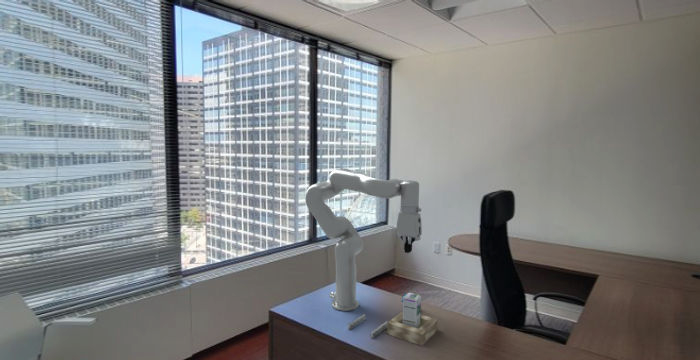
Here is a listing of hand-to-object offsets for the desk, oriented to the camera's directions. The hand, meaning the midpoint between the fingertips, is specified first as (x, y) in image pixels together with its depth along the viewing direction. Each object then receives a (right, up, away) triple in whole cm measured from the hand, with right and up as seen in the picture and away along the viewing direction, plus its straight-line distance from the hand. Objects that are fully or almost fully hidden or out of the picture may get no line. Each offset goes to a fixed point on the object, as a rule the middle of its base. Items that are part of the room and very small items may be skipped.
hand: (407, 252), depth 160 cm
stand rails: (-17, -30, -8) cm, 35 cm away
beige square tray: (0, -30, -10) cm, 32 cm away
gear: (+3, -29, +8) cm, 30 cm away
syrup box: (0, -30, -10) cm, 31 cm away
